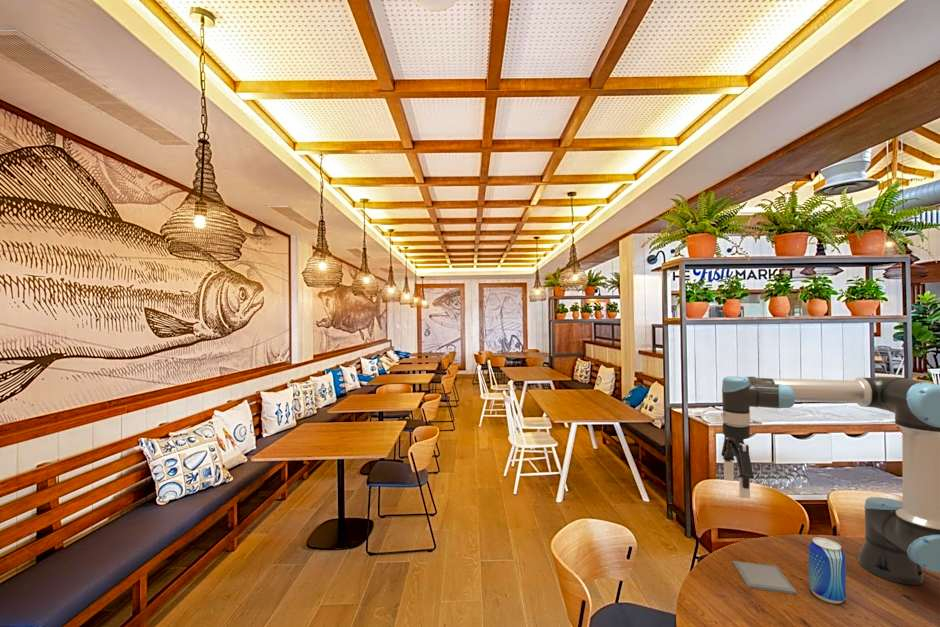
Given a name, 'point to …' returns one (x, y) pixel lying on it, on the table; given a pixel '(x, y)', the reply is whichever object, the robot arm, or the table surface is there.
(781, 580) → the plate
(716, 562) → the table surface
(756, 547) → the table surface
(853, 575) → the table surface
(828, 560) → the beer can
